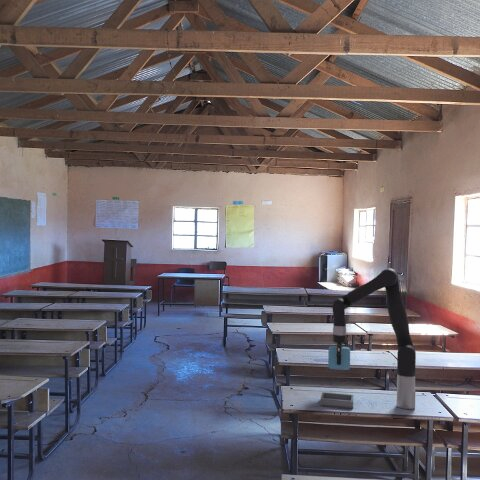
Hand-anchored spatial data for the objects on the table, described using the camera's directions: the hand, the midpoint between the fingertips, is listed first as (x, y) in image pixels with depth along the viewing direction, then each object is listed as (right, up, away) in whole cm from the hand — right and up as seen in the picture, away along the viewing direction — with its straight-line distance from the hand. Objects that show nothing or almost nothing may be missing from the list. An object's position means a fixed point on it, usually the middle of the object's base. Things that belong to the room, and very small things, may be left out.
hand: (339, 363), depth 284 cm
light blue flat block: (0, -3, 0) cm, 3 cm away
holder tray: (-4, -19, -12) cm, 23 cm away
